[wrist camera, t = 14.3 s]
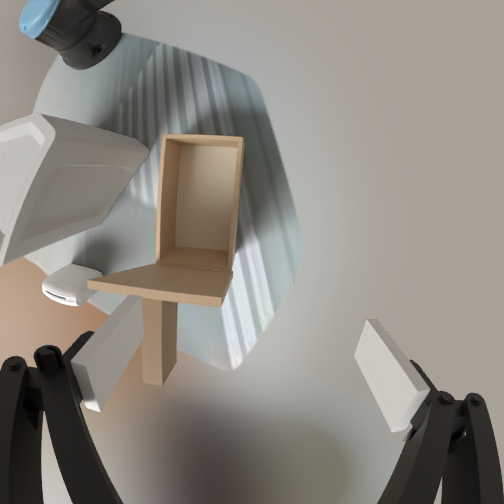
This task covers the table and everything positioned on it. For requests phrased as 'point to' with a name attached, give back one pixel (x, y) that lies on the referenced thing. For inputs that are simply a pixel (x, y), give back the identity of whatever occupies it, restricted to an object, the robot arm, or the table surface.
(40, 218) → the grey tapered bin
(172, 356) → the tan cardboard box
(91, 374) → the robot arm
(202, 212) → the tan rectangular open box
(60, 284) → the photo printer
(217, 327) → the table surface
